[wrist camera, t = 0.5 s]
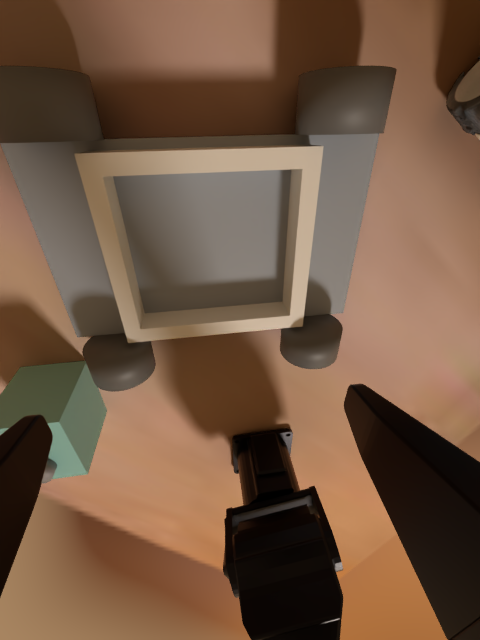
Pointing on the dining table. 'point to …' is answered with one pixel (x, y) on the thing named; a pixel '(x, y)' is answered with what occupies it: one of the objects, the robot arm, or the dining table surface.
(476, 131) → the toy excavator
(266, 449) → the robot arm
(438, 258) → the dining table surface
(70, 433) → the green cube with knobs
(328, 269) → the chassis
